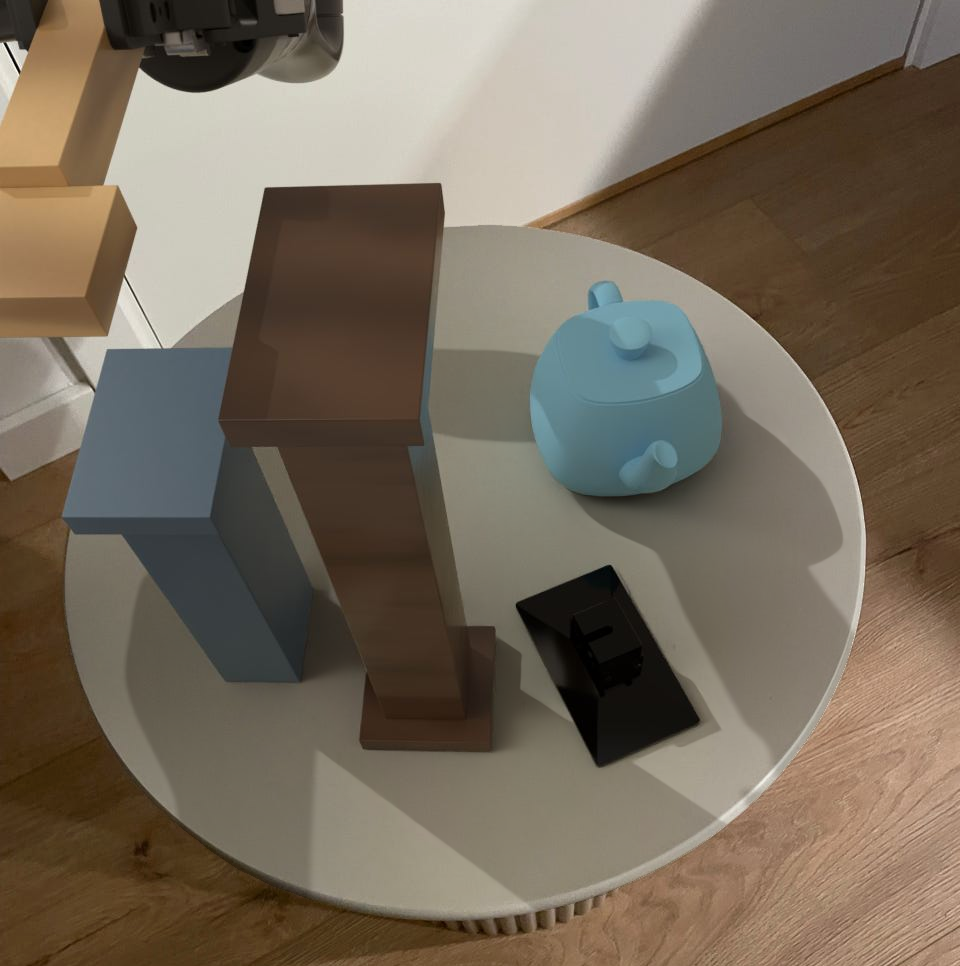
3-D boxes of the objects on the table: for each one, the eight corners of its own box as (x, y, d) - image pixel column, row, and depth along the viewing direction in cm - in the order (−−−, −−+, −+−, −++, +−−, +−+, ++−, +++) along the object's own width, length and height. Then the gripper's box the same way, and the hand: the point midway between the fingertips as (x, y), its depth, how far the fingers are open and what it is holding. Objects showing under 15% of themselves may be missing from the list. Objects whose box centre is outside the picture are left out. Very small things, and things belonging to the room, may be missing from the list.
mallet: (64, -13, 43) (35, -80, 40) (205, -19, 42) (184, -87, 40) (-66, 339, 34) (-112, 280, 32) (108, 337, 34) (74, 277, 31)
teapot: (567, 482, 59) (505, 259, 67) (566, 576, 68) (512, 371, 76) (782, 439, 59) (694, 223, 67) (751, 539, 69) (678, 339, 77)
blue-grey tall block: (229, 568, 70) (106, 348, 51) (330, 568, 70) (243, 346, 51) (205, 703, 66) (60, 517, 47) (313, 704, 65) (210, 517, 46)
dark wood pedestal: (379, 588, 69) (251, 186, 40) (498, 589, 68) (454, 181, 40) (362, 750, 64) (202, 421, 35) (491, 752, 63) (434, 419, 35)
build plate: (514, 606, 68) (510, 569, 64) (614, 565, 69) (617, 526, 65) (597, 769, 62) (599, 740, 58) (705, 722, 63) (714, 690, 59)
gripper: (356, 79, 53) (273, 127, 38) (93, 87, 54) (-83, 137, 40) (339, -101, 49) (240, -122, 34) (55, -88, 50) (-156, -103, 35)
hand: (68, 17), depth 37 cm, fingers closed on mallet, 2 cm apart
